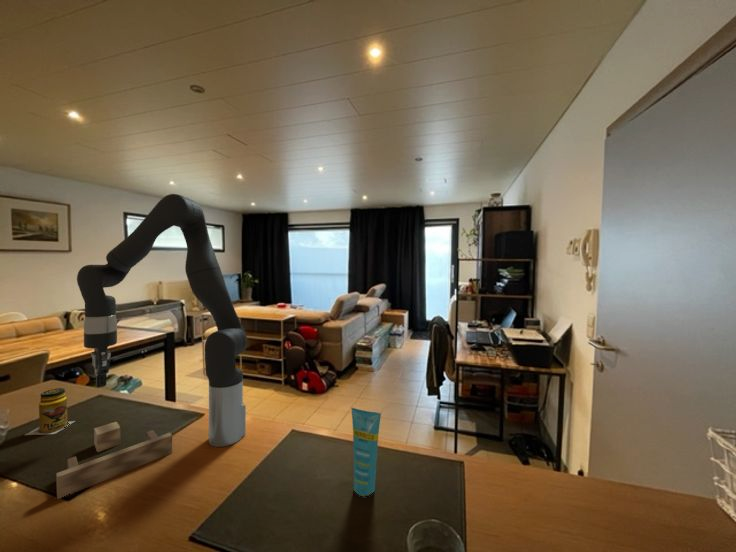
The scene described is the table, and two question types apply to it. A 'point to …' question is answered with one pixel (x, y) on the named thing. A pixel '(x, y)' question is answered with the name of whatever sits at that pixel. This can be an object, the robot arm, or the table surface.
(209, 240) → the robot arm
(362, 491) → the tube
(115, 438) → the block
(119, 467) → the wooden plank
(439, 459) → the table surface
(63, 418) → the condiment
